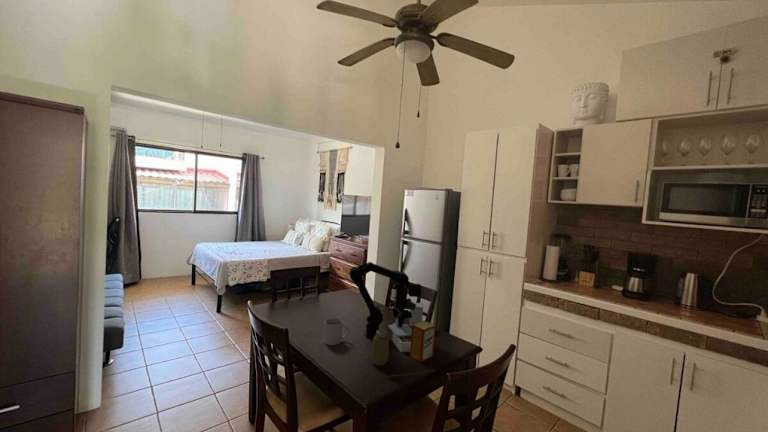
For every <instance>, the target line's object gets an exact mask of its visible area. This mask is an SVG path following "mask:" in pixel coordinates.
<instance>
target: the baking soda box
mask: <svg viewBox="0 0 768 432" xmlns="http://www.w3.org/2000/svg"><path fill="white" fill-rule="evenodd" d="M436 327H437V325H436V324H434V323H433V322H429V321H427V320H422V322H419V323H416V324H414V325H412V327H411V329H412V335H411V348H410V351H409V357H410V358H412V359H414V360H416V361H418V362H419V363H422V362H425V361H427V360H428V359H430V358H432V357H434V351H435V349H434V348H435V340H436V339H435V338H436Z"/></svg>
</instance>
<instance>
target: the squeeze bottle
mask: <svg viewBox="0 0 768 432" xmlns="http://www.w3.org/2000/svg"><path fill="white" fill-rule="evenodd" d="M387 333H388V332H387V331H386V330H385V325H384V323H383V322H382V323H381V324H379V330H377V331H376V335H375V336H374V338H373V339H372V346H371V351H370V358H371V362H372V364H373V365H375V366H378V367H379V366H385V365H386V364H387V362H388V360H389V356H390V353H389V351H390V350H389V349H390V348H389V347H390V346H389V344H390V343H389V336H388V334H387Z"/></svg>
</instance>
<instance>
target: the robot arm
mask: <svg viewBox="0 0 768 432" xmlns="http://www.w3.org/2000/svg"><path fill="white" fill-rule="evenodd" d="M370 272H373V273H376V274H378V275H380V276H384V277H386V278H389V279H391V280H392V281H394V282H395V283H394V284H392V288H393V289H395V296H394V297H393V299H394V300H390V302H389V303H388V307H389V308H391V309H390V310H391V312H392V315H393V318H394V320H395V319H396V317H397V319H398V323H399V327H402V324H404V322H405V320H406V319H409V318H412V313H411V312H410V309H412V310H414V309H415V307H416V304H415V303H416V302H414V301H412V299H411V297H412V298H421V296H422V288H421V284H420V283H411V282H410V279H409V276H408V275H407V274H406V273H405V272H404V271H400V270H392V269H390V268H387V267H385V266H381V265H378V264H376V263H373V262H372V261H368V262H367V263H364V264H360V265H358V266H352V267H351V268H350V269H349V272H348V273H349V278H350V279H351V281H352V282H353V283H354V284H355V285H356V286H357V288H358V290H359V292H360V295H361V297H362V299H363V300H364V302H365V304H366V307H367V309H368V311H369V315H368V316H367V317H366V318H365V319H366V324H365V333H364V336H365V338H366V339H367V340H370V339H372V340H373V339H374V336H375V335H376V331H377V330H379V328H380V325H381V323H383V321H384V318H383V317H384V315H383V311H382V310H381V309H380V308H381V307H380V306H379V305H375V303H374V301H373V299H372V297H371V294H370V293H369V291H368V289H367V287H366V285H365V283H364V279H363V276H365V275H366V274H368V273H370ZM407 295H408V296H409V297H410V298H409V297H407ZM413 302H414V303H413Z"/></svg>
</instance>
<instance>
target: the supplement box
mask: <svg viewBox="0 0 768 432" xmlns="http://www.w3.org/2000/svg"><path fill="white" fill-rule="evenodd" d="M412 302H413V303H415V304H416V307H415V309H414V310H412V309H409V311H410V312H411V313H412V318H408V319H409V320H408V322H409V323H408V326H409V327H410V328H412V325H414V324H416V323H419V322H422V321H423V318H424V317H423V315H424V303H422V302H420V303H419V302H414V301H412Z"/></svg>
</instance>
